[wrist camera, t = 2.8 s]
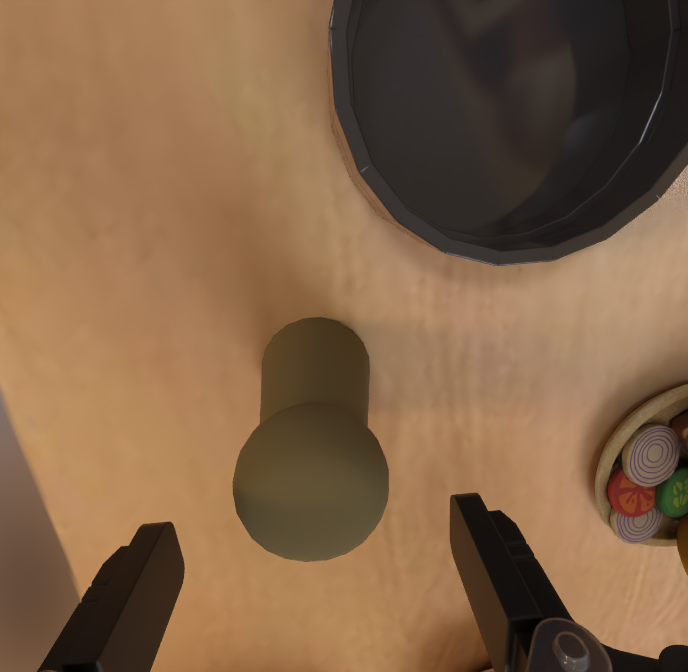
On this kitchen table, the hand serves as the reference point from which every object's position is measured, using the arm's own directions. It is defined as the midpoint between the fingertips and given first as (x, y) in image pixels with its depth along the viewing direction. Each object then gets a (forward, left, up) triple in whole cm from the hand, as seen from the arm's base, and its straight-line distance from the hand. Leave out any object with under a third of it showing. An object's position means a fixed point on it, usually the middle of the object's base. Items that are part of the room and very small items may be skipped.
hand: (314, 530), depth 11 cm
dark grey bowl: (+9, +13, -11) cm, 20 cm away
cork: (0, 0, -12) cm, 12 cm away
